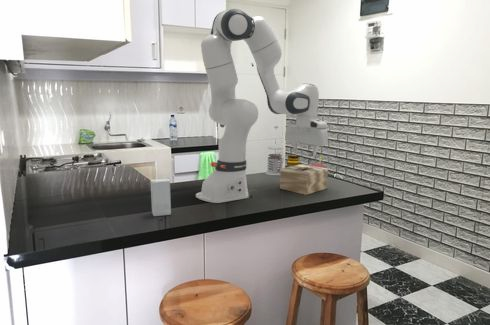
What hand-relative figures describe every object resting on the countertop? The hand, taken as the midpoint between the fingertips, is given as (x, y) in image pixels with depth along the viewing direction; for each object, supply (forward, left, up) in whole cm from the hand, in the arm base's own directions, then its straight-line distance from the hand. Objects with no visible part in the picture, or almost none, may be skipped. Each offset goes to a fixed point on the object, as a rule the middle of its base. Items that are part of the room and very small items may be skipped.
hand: (304, 154), depth 162 cm
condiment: (+11, +15, -16) cm, 24 cm away
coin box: (0, 0, -16) cm, 16 cm away
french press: (+14, +28, -16) cm, 35 cm away
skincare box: (-66, +12, -16) cm, 69 cm away
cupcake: (+24, +9, -16) cm, 30 cm away
